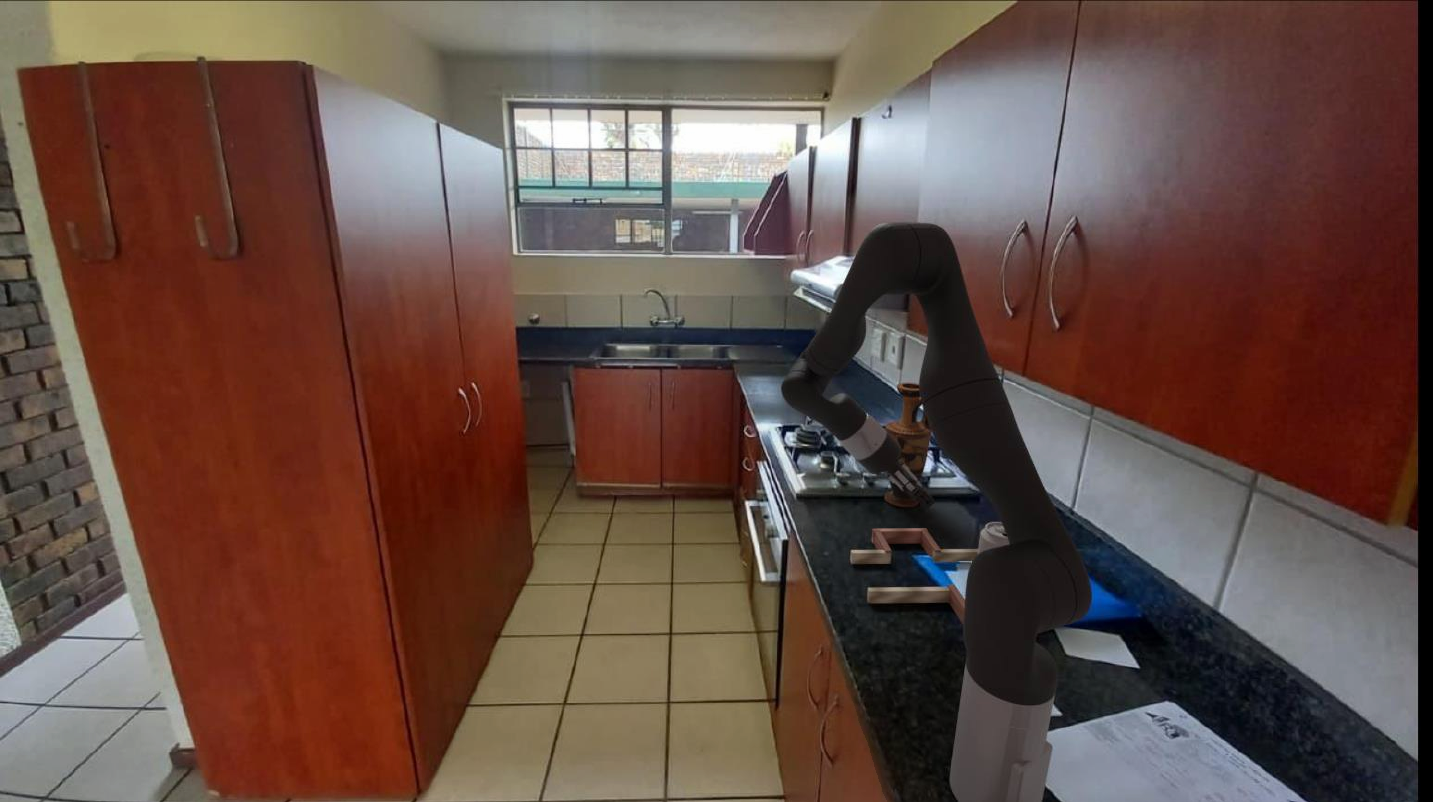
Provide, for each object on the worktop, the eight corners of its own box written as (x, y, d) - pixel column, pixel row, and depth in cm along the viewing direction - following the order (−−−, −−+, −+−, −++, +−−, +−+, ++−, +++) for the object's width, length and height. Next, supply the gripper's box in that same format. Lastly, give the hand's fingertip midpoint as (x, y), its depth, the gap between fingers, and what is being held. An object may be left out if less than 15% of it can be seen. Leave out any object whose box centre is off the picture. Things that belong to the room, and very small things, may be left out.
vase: (883, 509, 144) (894, 391, 135) (875, 490, 154) (884, 380, 146) (929, 511, 143) (942, 392, 134) (917, 492, 153) (929, 380, 145)
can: (1006, 601, 108) (1015, 543, 105) (967, 583, 114) (974, 528, 110) (1023, 585, 113) (1032, 529, 110) (984, 569, 118) (992, 515, 115)
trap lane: (881, 632, 100) (882, 617, 99) (841, 541, 129) (842, 528, 128) (1070, 630, 100) (1073, 615, 100) (988, 539, 130) (990, 527, 129)
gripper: (895, 440, 99) (959, 506, 103) (874, 418, 112) (932, 477, 116) (862, 470, 101) (927, 534, 104) (845, 444, 113) (903, 502, 117)
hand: (929, 503), depth 110 cm, fingers closed
